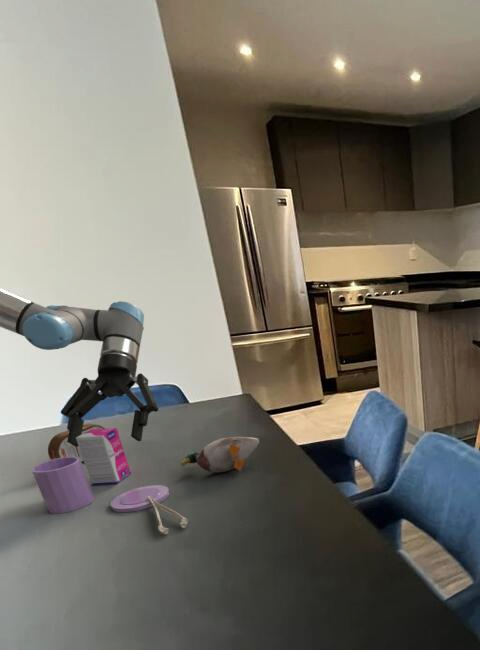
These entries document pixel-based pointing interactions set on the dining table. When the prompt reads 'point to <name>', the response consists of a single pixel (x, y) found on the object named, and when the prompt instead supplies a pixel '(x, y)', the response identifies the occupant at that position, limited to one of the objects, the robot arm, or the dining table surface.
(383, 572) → the dining table surface
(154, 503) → the beige thin v-shaped piece
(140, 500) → the saucer
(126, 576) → the dining table surface
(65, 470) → the lilac cup
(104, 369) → the robot arm
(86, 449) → the supplement box
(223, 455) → the decorative duck model
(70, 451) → the tin
